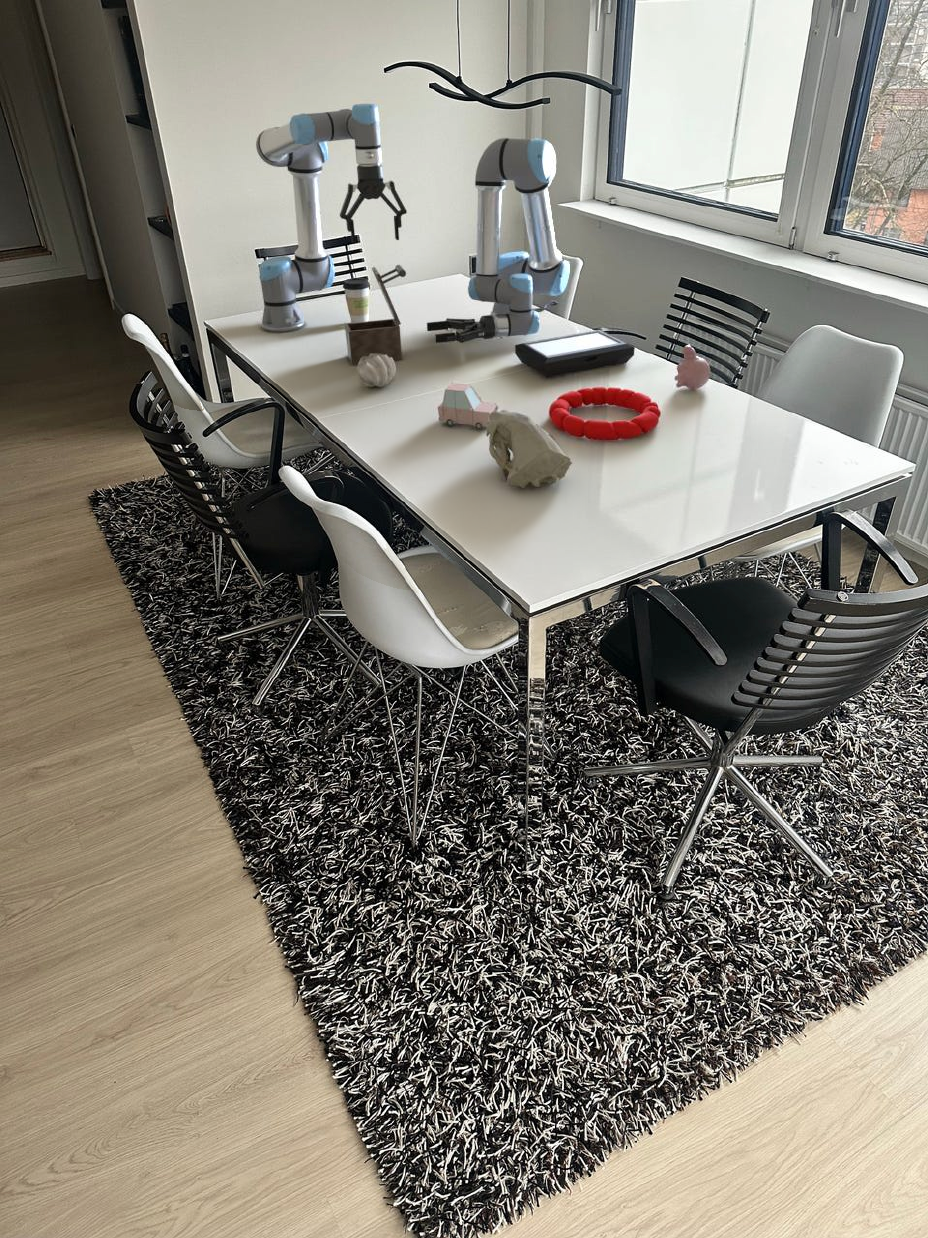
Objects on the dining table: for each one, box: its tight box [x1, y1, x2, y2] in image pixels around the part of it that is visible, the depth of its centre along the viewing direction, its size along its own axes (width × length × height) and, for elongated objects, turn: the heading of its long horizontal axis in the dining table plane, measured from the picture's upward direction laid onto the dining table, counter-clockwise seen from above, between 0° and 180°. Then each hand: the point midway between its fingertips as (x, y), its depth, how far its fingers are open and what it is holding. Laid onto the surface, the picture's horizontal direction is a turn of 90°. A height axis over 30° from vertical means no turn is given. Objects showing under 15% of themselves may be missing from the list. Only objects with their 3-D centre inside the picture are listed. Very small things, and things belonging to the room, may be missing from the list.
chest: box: [344, 318, 403, 366], centre depth 291 cm, size 17×10×11 cm, turn 104°
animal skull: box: [485, 409, 573, 489], centre depth 216 cm, size 17×25×20 cm
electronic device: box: [514, 329, 636, 379], centre depth 282 cm, size 32×6×20 cm
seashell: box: [356, 353, 397, 388], centre depth 269 cm, size 10×15×10 cm
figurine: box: [674, 344, 711, 390], centre depth 259 cm, size 9×11×12 cm
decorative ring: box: [548, 386, 661, 442], centre depth 242 cm, size 7×30×30 cm
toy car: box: [437, 382, 499, 431], centre depth 243 cm, size 9×15×10 cm, turn 70°
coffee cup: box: [342, 277, 371, 323], centre depth 323 cm, size 10×10×15 cm
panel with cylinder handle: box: [371, 264, 407, 326], centre depth 284 cm, size 17×10×9 cm
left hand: (375, 240), depth 274 cm, fingers open, 13 cm apart
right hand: (431, 332), depth 295 cm, fingers open, 13 cm apart
